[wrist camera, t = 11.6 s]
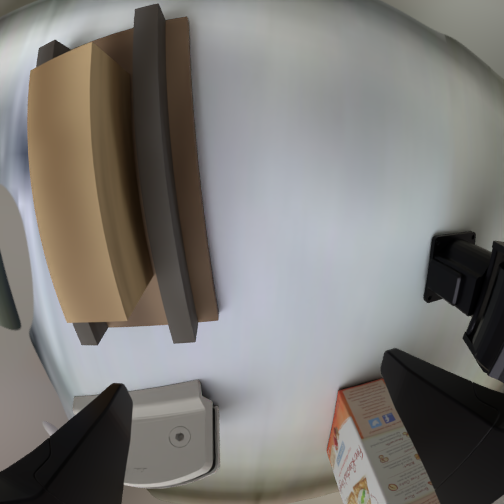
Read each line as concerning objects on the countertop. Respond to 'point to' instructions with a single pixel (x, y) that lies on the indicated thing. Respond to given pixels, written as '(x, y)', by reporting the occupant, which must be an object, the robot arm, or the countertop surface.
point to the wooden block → (87, 185)
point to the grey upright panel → (169, 436)
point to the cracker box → (375, 451)
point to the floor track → (162, 175)
